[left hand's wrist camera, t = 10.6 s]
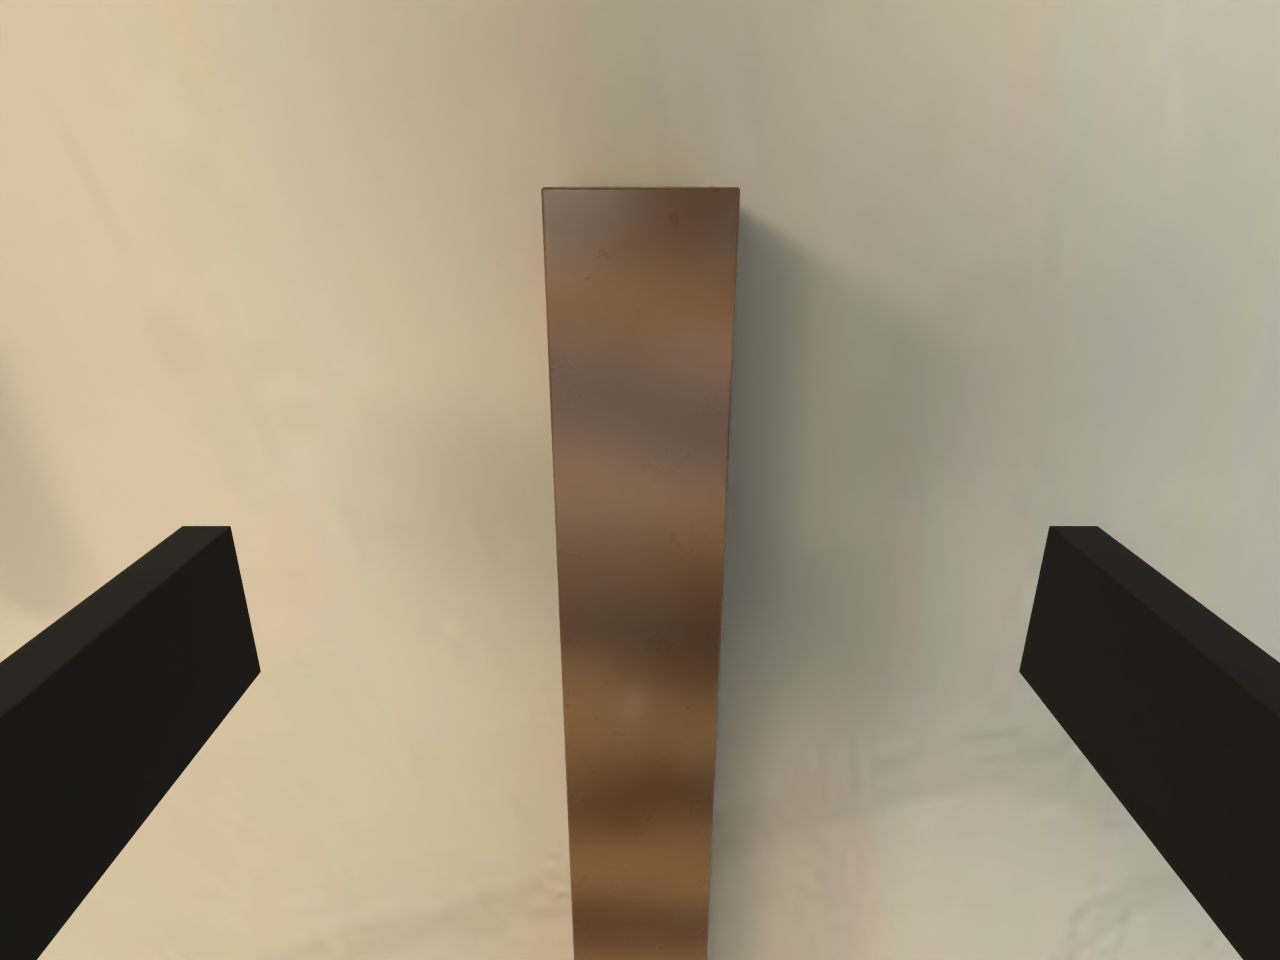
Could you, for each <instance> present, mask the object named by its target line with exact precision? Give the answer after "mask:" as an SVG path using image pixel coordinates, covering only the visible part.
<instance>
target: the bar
mask: <svg viewBox="0 0 1280 960" xmlns="http://www.w3.org/2000/svg"><path fill="white" fill-rule="evenodd" d="M541 194H542V217H543V241H544V264H545V288H546V311H547V335H548V358H549V382H550V405H551V429H552V452H553V476H554V499H555V523H556V546H557V570H558V593H559V617H560V640H561V664H562V687H563V711H564V734H565V758H566V781H567V805H568V828H569V852H570V875H571V899H572V922H573V946H574V960H707V941H708V917H709V894H710V871H711V848H712V825H713V802H714V779H715V756H716V733H717V710H718V687H719V664H720V640H721V617H722V594H723V571H724V548H725V525H726V502H727V479H728V456H729V433H730V410H731V387H732V363H733V340H734V317H735V294H736V271H737V248H738V225H739V202H740V189H739V188H738V187H543V188H542V190H541Z"/></svg>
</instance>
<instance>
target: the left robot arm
mask: <svg viewBox="0 0 1280 960" xmlns="http://www.w3.org/2000/svg"><path fill="white" fill-rule="evenodd" d="M260 672H261V671H260V666H259V661H258V656H257V651H256V647H255V642H254V637H253V632H252V627H251V623H250V618H249V613H248V608H247V603H246V599H245V594H244V589H243V584H242V579H241V575H240V570H239V565H238V560H237V555H236V551H235V546H234V541H233V536H232V531H231V527H230V526H182V527H181V528H180V529H178V530H177V531H176V532H174V533H173V534H172V535H170V536H169V537H168V538H166V539H165V540H164V541H162V542H161V543H160V544H158V545H157V546H156V547H154V548H153V549H152V550H150V551H149V552H148V553H146V554H145V555H144V556H142V557H141V558H140V559H138V560H137V561H136V562H134V563H133V564H132V565H130V566H129V567H128V568H126V569H125V570H124V571H122V572H121V573H120V574H118V575H117V576H116V577H114V578H113V579H112V580H110V581H109V582H108V583H106V584H105V585H104V586H102V587H101V588H100V589H98V590H97V591H96V592H94V593H93V594H92V595H90V596H89V597H88V598H86V599H85V600H84V601H82V602H81V603H80V604H78V605H77V606H76V607H74V608H73V609H72V610H70V611H69V612H68V613H66V614H65V615H64V616H62V617H61V618H60V619H58V620H57V621H56V622H54V623H53V624H52V625H50V626H49V627H47V628H46V629H45V630H43V631H42V632H41V633H39V634H38V635H37V636H35V637H34V638H33V639H31V640H30V641H29V642H27V643H26V644H25V645H23V646H22V647H21V648H19V649H18V650H17V651H15V652H14V653H13V654H11V655H10V656H9V657H7V658H6V659H5V660H3V661H2V662H1V663H0V960H37V959H38V957H39V956H40V955H41V954H42V952H43V951H44V950H45V948H46V947H47V946H48V945H49V943H50V942H51V941H52V939H53V938H54V937H55V936H56V934H57V933H58V932H59V930H60V929H61V928H62V927H63V925H64V924H65V923H66V921H67V920H68V919H69V918H70V916H71V915H72V914H73V912H74V911H75V910H76V909H77V907H78V906H79V905H80V903H81V902H82V901H83V900H84V898H85V897H86V896H87V894H88V893H89V892H90V891H91V889H92V888H93V887H94V885H95V884H96V883H97V882H98V880H99V879H100V878H101V876H102V875H103V874H104V873H105V871H106V870H107V869H108V867H109V866H110V865H111V864H112V862H113V861H114V860H115V858H116V857H117V856H118V855H119V853H120V852H121V851H122V849H123V848H124V847H125V846H126V844H127V843H128V842H129V840H130V839H131V838H132V837H133V835H134V834H135V833H136V831H137V830H138V829H139V828H140V826H141V825H142V824H143V822H144V821H145V820H146V819H147V817H148V816H149V815H150V813H151V812H152V811H153V810H154V808H155V807H156V806H157V804H158V803H159V802H160V801H161V799H162V798H163V797H164V795H165V794H166V793H167V792H168V790H169V789H170V788H171V786H172V785H173V784H174V783H175V781H176V780H177V779H178V777H179V776H180V775H181V774H182V772H183V771H184V770H185V768H186V767H187V766H188V764H189V763H190V762H191V761H192V759H193V758H194V757H195V755H196V754H197V753H198V752H199V750H200V749H201V748H202V746H203V745H204V744H205V743H206V741H207V740H208V739H209V737H210V736H211V735H212V734H213V732H214V731H215V730H216V728H217V727H218V726H219V725H220V723H221V722H222V721H223V719H224V718H225V717H226V716H227V714H228V713H229V712H230V710H231V709H232V708H233V707H234V705H235V704H236V703H237V701H238V700H239V699H240V698H241V696H242V695H243V694H244V692H245V691H246V690H247V689H248V687H249V686H250V685H251V683H252V682H253V681H254V680H255V678H256V677H257V676H258V674H259V673H260ZM1019 672H1020V673H1021V674H1022V676H1023V677H1024V678H1025V680H1026V681H1027V682H1028V683H1029V685H1030V686H1031V687H1032V689H1033V690H1034V691H1035V692H1036V694H1037V695H1038V696H1039V698H1040V699H1041V700H1042V701H1043V703H1044V704H1045V705H1046V707H1047V708H1048V709H1049V710H1050V712H1051V713H1052V714H1053V716H1054V717H1055V718H1056V719H1057V721H1058V722H1059V723H1060V725H1061V726H1062V727H1063V728H1064V730H1065V731H1066V732H1067V734H1068V735H1069V736H1070V737H1071V739H1072V740H1073V741H1074V743H1075V744H1076V745H1077V746H1078V748H1079V749H1080V750H1081V752H1082V753H1083V754H1084V755H1085V757H1086V758H1087V759H1088V761H1089V762H1090V763H1091V764H1092V766H1093V767H1094V768H1095V770H1096V771H1097V772H1098V774H1099V775H1100V776H1101V777H1102V779H1103V780H1104V781H1105V783H1106V784H1107V785H1108V786H1109V788H1110V789H1111V790H1112V792H1113V793H1114V794H1115V795H1116V797H1117V798H1118V799H1119V801H1120V802H1121V803H1122V804H1123V806H1124V807H1125V808H1126V810H1127V811H1128V812H1129V813H1130V815H1131V816H1132V817H1133V819H1134V820H1135V821H1136V822H1137V824H1138V825H1139V826H1140V828H1141V829H1142V830H1143V831H1144V833H1145V834H1146V835H1147V837H1148V838H1149V839H1150V840H1151V842H1152V843H1153V844H1154V846H1155V847H1156V848H1157V849H1158V851H1159V852H1160V853H1161V855H1162V856H1163V857H1164V858H1165V860H1166V861H1167V862H1168V864H1169V865H1170V866H1171V867H1172V869H1173V870H1174V871H1175V873H1176V874H1177V875H1178V876H1179V878H1180V879H1181V880H1182V882H1183V883H1184V884H1185V885H1186V887H1187V888H1188V889H1189V891H1190V892H1191V893H1192V894H1193V896H1194V897H1195V898H1196V900H1197V901H1198V902H1199V903H1200V905H1201V906H1202V907H1203V909H1204V910H1205V911H1206V912H1207V914H1208V915H1209V916H1210V918H1211V919H1212V920H1213V921H1214V923H1215V924H1216V925H1217V927H1218V928H1219V929H1220V930H1221V932H1222V933H1223V934H1224V936H1225V937H1226V938H1227V939H1228V941H1229V942H1230V943H1231V945H1232V946H1233V947H1234V948H1235V950H1236V951H1237V952H1238V954H1239V955H1240V956H1241V957H1242V959H1243V960H1280V663H1279V662H1278V661H1277V660H1275V659H1274V658H1273V657H1271V656H1270V655H1269V654H1267V653H1266V652H1265V651H1263V650H1262V649H1261V648H1259V647H1258V646H1257V645H1255V644H1254V643H1253V642H1251V641H1250V640H1249V639H1247V638H1246V637H1245V636H1243V635H1242V634H1241V633H1239V632H1238V631H1237V630H1235V629H1234V628H1233V627H1231V626H1230V625H1228V624H1227V623H1226V622H1224V621H1223V620H1222V619H1220V618H1219V617H1218V616H1216V615H1215V614H1214V613H1212V612H1211V611H1210V610H1208V609H1207V608H1206V607H1204V606H1203V605H1202V604H1200V603H1199V602H1198V601H1196V600H1195V599H1194V598H1192V597H1191V596H1190V595H1188V594H1187V593H1186V592H1184V591H1183V590H1182V589H1180V588H1179V587H1178V586H1176V585H1175V584H1174V583H1172V582H1171V581H1170V580H1168V579H1167V578H1166V577H1164V576H1163V575H1162V574H1160V573H1159V572H1158V571H1156V570H1155V569H1154V568H1152V567H1151V566H1150V565H1148V564H1147V563H1146V562H1144V561H1143V560H1142V559H1140V558H1139V557H1138V556H1136V555H1135V554H1134V553H1132V552H1131V551H1130V550H1128V549H1127V548H1126V547H1124V546H1123V545H1122V544H1120V543H1119V542H1118V541H1116V540H1115V539H1114V538H1112V537H1111V536H1110V535H1108V534H1107V533H1106V532H1104V531H1103V530H1102V529H1100V528H1099V527H1098V526H1050V527H1049V531H1048V536H1047V541H1046V546H1045V551H1044V555H1043V560H1042V565H1041V570H1040V575H1039V579H1038V584H1037V589H1036V594H1035V599H1034V603H1033V608H1032V613H1031V618H1030V623H1029V627H1028V632H1027V637H1026V642H1025V647H1024V651H1023V656H1022V661H1021V666H1020V671H1019Z"/></svg>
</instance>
